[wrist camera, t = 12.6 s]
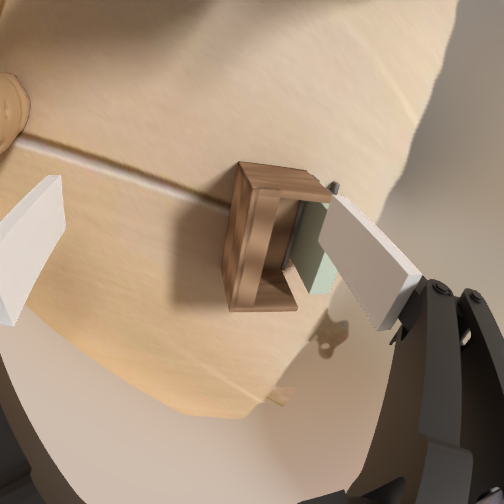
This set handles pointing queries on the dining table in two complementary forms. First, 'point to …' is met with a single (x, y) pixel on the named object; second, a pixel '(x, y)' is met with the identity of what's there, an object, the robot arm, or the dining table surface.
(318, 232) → the door
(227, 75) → the dining table surface
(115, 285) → the dining table surface
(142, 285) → the dining table surface
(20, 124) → the container
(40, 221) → the robot arm
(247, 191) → the cabinet
